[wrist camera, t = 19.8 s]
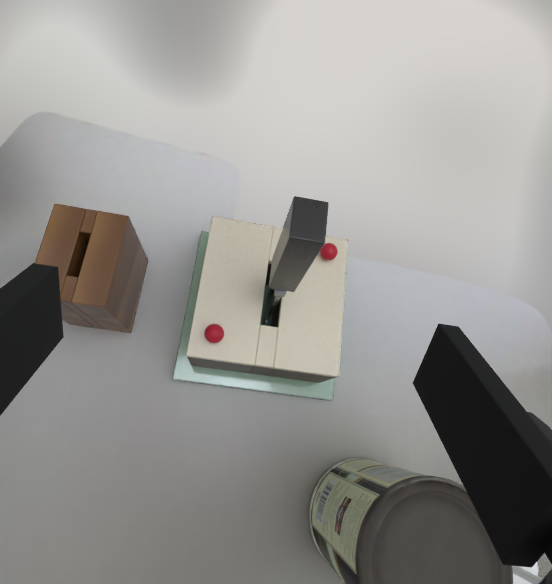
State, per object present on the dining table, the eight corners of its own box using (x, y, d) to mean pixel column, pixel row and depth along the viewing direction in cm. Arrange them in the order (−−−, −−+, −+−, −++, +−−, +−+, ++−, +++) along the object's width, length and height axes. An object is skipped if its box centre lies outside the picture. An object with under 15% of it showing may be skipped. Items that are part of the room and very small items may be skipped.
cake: (190, 365, 39) (184, 352, 31) (213, 245, 43) (212, 207, 35) (319, 383, 40) (345, 374, 32) (329, 264, 44) (353, 232, 36)
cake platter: (173, 379, 39) (172, 379, 38) (201, 234, 44) (201, 230, 43) (330, 400, 41) (333, 400, 40) (340, 258, 46) (343, 254, 45)
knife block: (69, 324, 40) (23, 295, 30) (90, 251, 42) (54, 203, 33) (131, 333, 40) (104, 307, 31) (148, 260, 43) (128, 215, 33)
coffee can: (418, 571, 37) (531, 657, 24) (312, 582, 36) (368, 680, 23) (404, 453, 40) (497, 472, 27) (305, 459, 39) (351, 481, 26)
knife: (253, 325, 41) (288, 240, 21) (257, 298, 42) (294, 192, 22) (272, 328, 41) (325, 247, 21) (276, 300, 42) (329, 198, 22)
